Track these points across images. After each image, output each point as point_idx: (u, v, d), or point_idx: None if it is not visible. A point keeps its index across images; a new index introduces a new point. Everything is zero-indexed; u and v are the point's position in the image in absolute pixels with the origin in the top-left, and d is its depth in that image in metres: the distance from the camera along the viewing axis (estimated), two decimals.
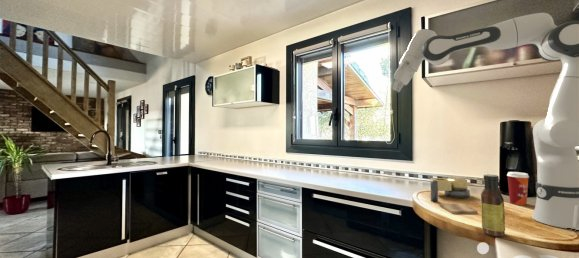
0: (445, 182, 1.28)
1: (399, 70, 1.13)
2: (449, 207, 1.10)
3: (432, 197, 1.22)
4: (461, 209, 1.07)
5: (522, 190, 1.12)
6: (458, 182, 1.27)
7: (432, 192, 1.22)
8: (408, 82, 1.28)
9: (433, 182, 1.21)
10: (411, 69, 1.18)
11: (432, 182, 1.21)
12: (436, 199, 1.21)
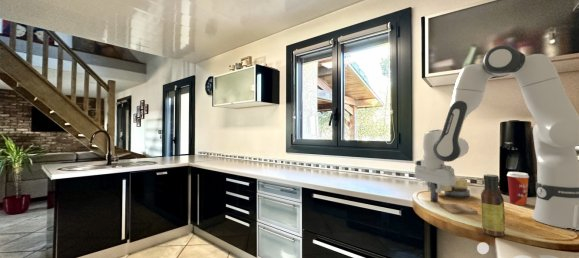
0: None
1: (451, 178, 1.13)
2: (449, 207, 1.10)
3: (432, 197, 1.22)
4: (461, 209, 1.07)
5: (522, 190, 1.12)
6: (458, 182, 1.27)
7: (432, 192, 1.22)
8: None
9: None
10: None
11: None
12: (436, 199, 1.21)
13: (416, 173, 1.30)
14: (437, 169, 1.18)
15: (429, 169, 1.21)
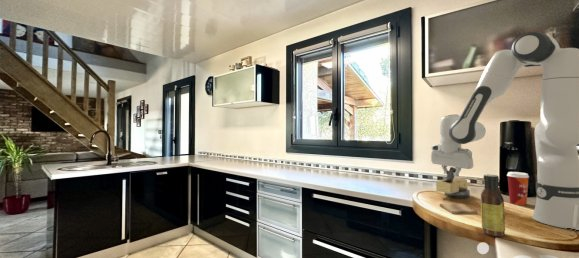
0: (455, 183, 1.24)
1: (469, 160, 1.16)
2: (449, 207, 1.10)
3: None
4: (461, 209, 1.07)
5: (522, 190, 1.12)
6: (463, 182, 1.26)
7: (449, 178, 1.26)
8: None
9: (454, 170, 1.24)
10: None
11: (452, 170, 1.24)
12: None
13: (432, 158, 1.33)
14: (454, 152, 1.22)
15: (446, 153, 1.24)
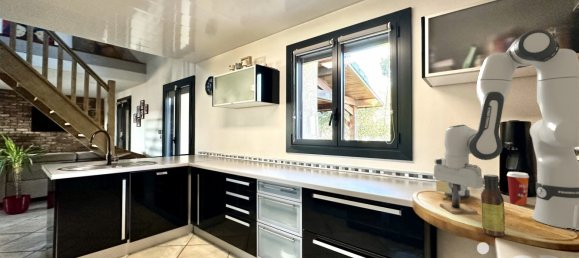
0: None
1: (478, 178, 1.00)
2: (449, 207, 1.10)
3: (455, 202, 1.09)
4: (461, 209, 1.07)
5: (522, 190, 1.12)
6: None
7: (455, 197, 1.09)
8: None
9: (457, 186, 1.09)
10: None
11: (456, 186, 1.09)
12: (459, 205, 1.09)
13: (435, 173, 1.18)
14: (461, 169, 1.06)
15: (451, 168, 1.09)
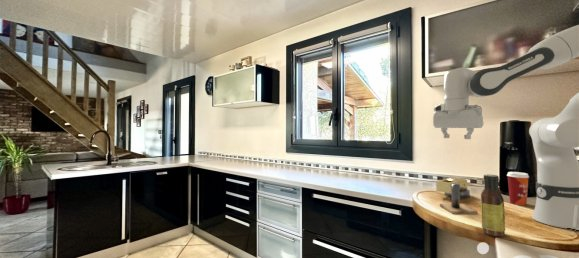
0: (455, 183, 1.24)
1: (479, 117, 0.98)
2: (449, 207, 1.10)
3: (454, 203, 1.09)
4: (461, 209, 1.07)
5: (522, 190, 1.12)
6: (463, 182, 1.26)
7: (455, 197, 1.09)
8: None
9: (456, 186, 1.09)
10: None
11: (455, 186, 1.09)
12: (459, 205, 1.09)
13: (435, 121, 1.15)
14: (461, 111, 1.04)
15: (451, 112, 1.06)
